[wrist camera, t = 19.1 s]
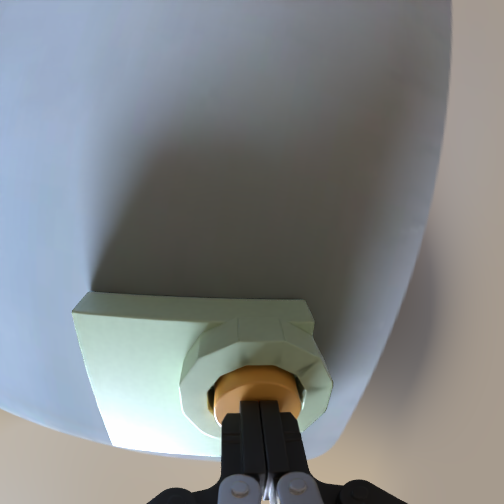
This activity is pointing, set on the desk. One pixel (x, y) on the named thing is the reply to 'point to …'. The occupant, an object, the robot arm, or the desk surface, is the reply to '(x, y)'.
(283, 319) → the button block
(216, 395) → the button
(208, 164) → the desk surface
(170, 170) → the desk surface
